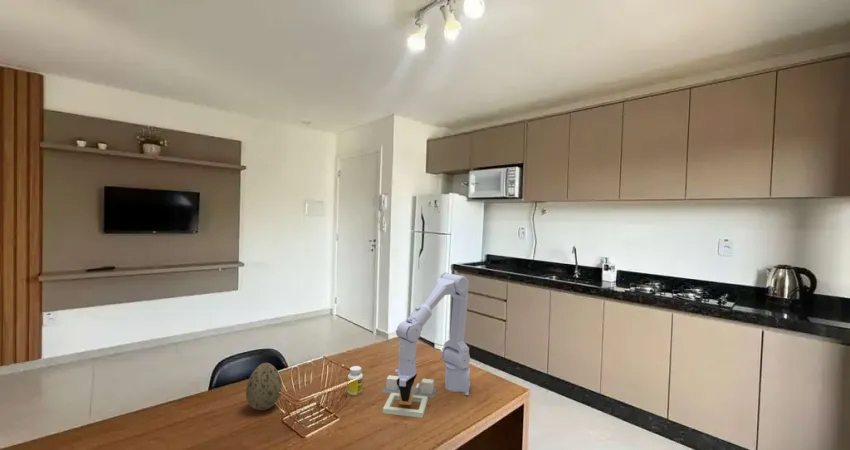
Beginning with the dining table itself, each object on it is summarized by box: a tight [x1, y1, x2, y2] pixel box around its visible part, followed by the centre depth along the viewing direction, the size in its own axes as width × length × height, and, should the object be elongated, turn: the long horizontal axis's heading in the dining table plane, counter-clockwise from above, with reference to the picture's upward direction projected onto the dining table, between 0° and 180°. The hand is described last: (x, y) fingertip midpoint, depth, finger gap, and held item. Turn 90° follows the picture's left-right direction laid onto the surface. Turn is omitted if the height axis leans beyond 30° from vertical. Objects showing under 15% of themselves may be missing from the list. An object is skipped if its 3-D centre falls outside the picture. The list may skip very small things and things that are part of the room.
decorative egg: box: [245, 362, 283, 411], centre depth 122 cm, size 11×11×15 cm
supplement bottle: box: [346, 365, 364, 397], centre depth 133 cm, size 5×5×10 cm
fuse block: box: [381, 374, 438, 399], centre depth 136 cm, size 19×8×5 cm, turn 81°
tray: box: [382, 393, 429, 419], centre depth 124 cm, size 13×11×2 cm
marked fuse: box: [398, 384, 414, 406], centre depth 124 cm, size 4×3×6 cm
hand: (406, 398), depth 124 cm, fingers closed on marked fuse, 3 cm apart
